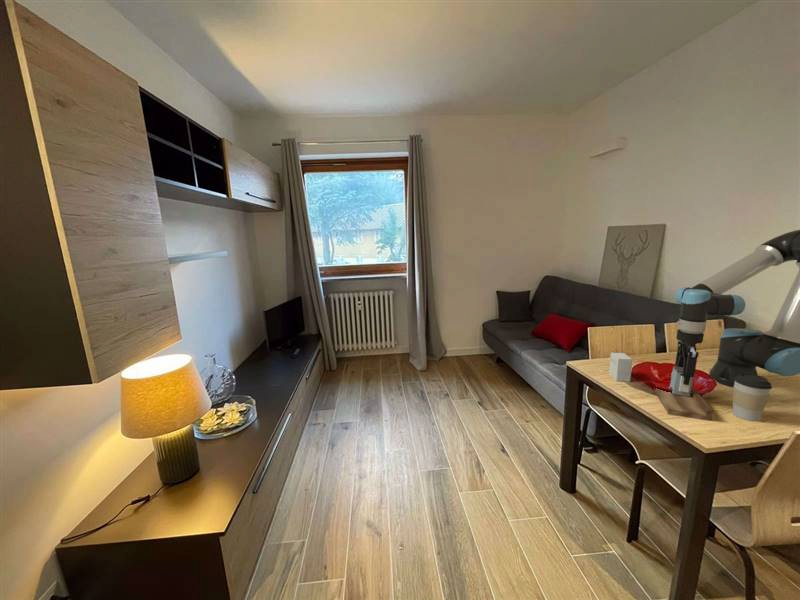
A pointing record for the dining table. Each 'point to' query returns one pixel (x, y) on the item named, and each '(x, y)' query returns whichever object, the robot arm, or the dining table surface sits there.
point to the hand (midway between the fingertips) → (681, 388)
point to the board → (685, 405)
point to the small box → (620, 367)
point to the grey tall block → (678, 381)
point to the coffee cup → (750, 396)
